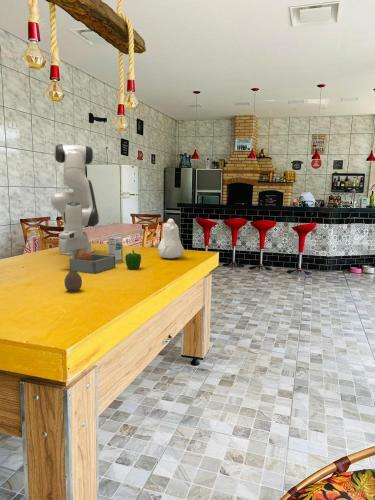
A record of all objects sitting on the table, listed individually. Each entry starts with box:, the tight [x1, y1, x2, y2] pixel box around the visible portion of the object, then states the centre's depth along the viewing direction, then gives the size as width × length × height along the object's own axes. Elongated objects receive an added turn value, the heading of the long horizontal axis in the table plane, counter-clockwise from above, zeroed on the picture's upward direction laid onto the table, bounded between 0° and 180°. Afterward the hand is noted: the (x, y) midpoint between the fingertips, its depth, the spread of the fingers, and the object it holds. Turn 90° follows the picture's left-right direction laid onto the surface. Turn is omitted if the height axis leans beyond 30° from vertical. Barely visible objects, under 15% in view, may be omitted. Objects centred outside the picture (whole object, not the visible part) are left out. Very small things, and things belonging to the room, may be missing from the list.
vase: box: [64, 269, 83, 293], centre depth 158 cm, size 7×7×9 cm
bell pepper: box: [124, 249, 142, 270], centre depth 205 cm, size 8×8×10 cm
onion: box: [75, 249, 93, 261], centre depth 204 cm, size 10×10×10 cm
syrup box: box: [107, 236, 124, 264], centre depth 222 cm, size 6×6×14 cm
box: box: [69, 253, 116, 275], centre depth 202 cm, size 18×15×6 cm
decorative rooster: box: [157, 218, 185, 259], centre depth 241 cm, size 25×16×25 cm, turn 5°
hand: (74, 259), depth 206 cm, fingers closed, pressing on onion
